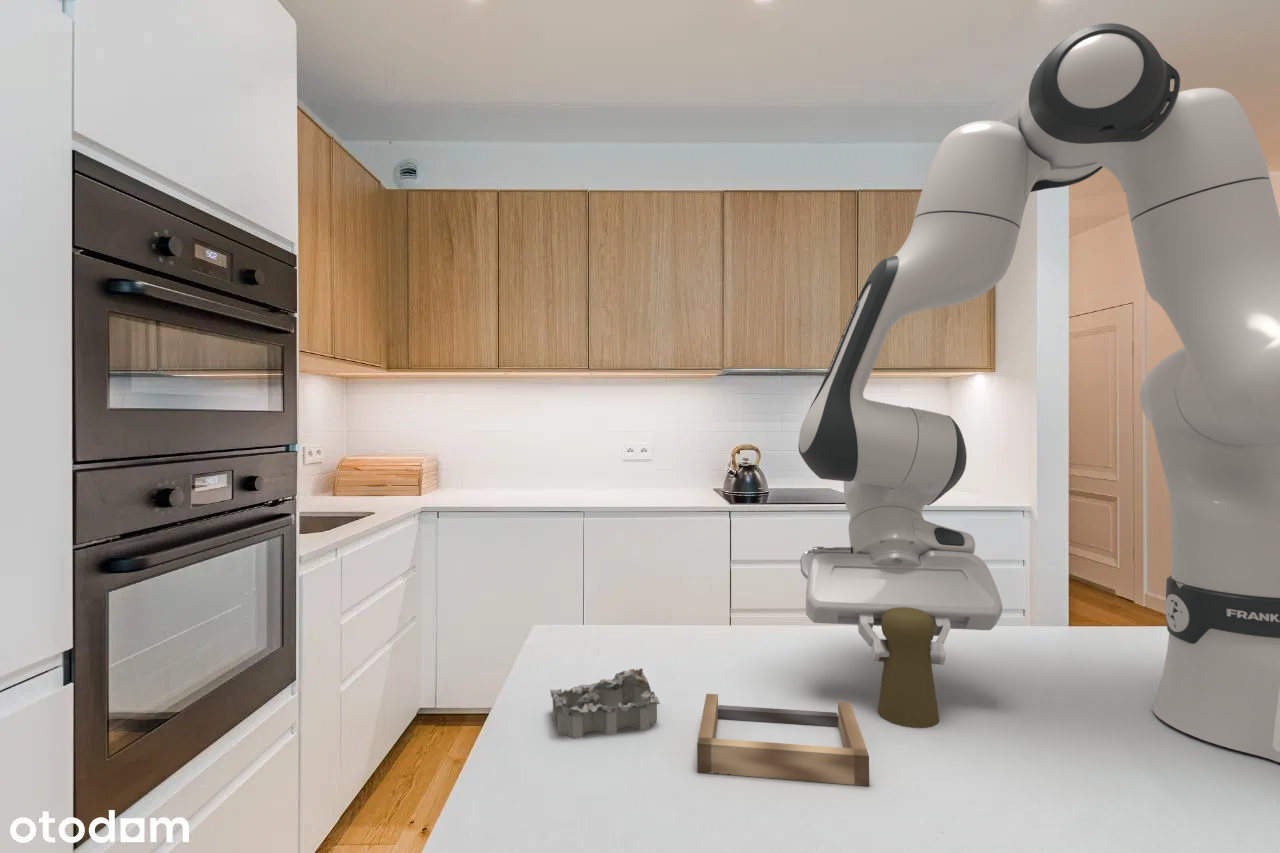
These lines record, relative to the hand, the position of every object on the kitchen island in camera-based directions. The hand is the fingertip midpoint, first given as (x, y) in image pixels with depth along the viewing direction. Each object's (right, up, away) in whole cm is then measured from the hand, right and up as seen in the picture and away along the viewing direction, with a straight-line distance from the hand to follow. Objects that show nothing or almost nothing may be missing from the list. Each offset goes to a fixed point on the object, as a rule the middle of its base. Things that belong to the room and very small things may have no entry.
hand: (909, 660), depth 70 cm
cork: (0, -6, +1) cm, 6 cm away
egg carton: (-31, -6, 0) cm, 32 cm away
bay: (-15, -6, -6) cm, 17 cm away
